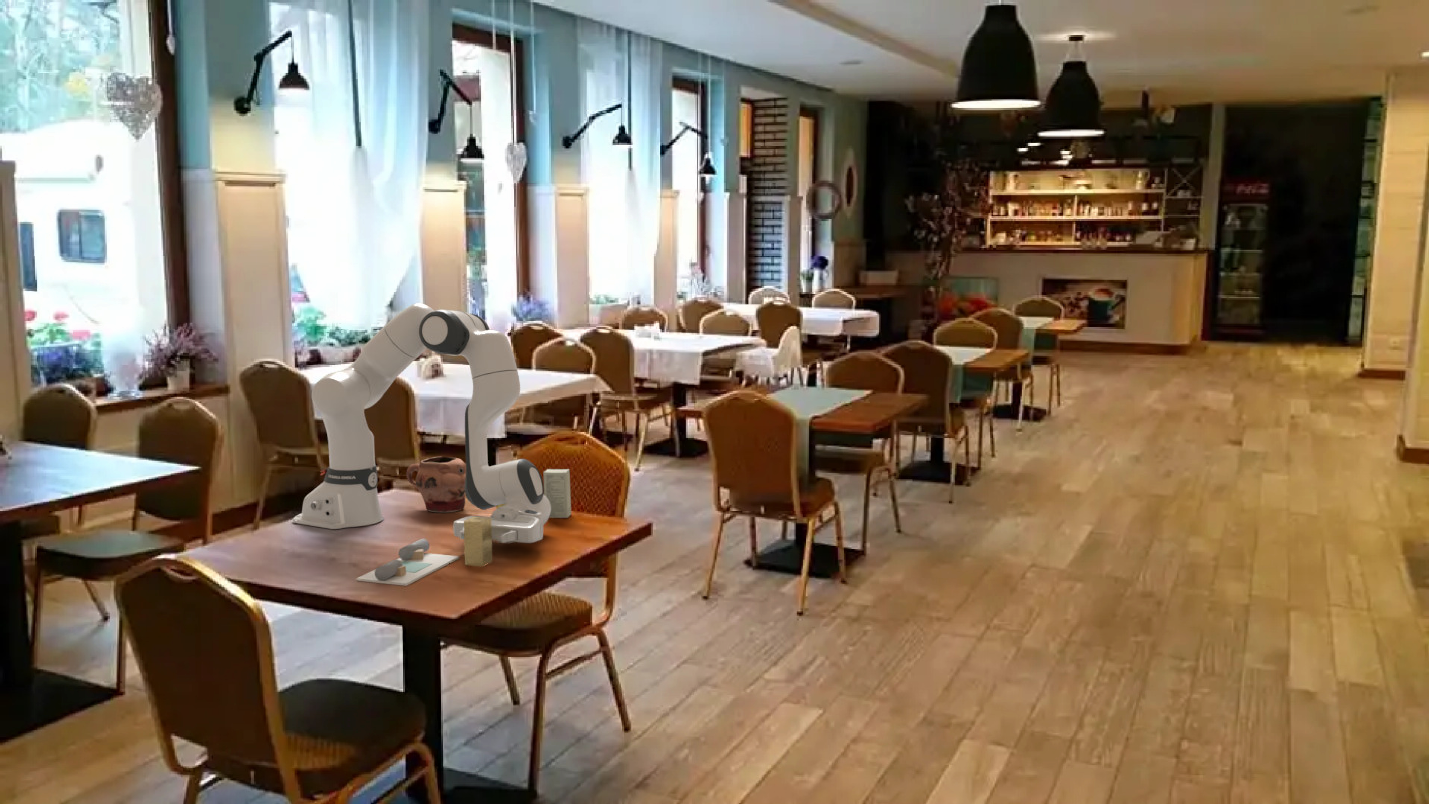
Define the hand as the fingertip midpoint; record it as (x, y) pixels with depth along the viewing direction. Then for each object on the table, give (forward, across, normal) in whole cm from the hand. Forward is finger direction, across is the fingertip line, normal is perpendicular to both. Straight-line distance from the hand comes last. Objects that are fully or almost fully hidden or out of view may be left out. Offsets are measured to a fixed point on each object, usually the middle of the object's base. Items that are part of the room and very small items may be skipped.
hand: (481, 537), depth 264 cm
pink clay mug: (-42, -35, +6) cm, 55 cm away
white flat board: (+10, -12, +6) cm, 17 cm away
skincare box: (-45, -2, +6) cm, 45 cm away
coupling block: (+1, 0, +6) cm, 6 cm away
